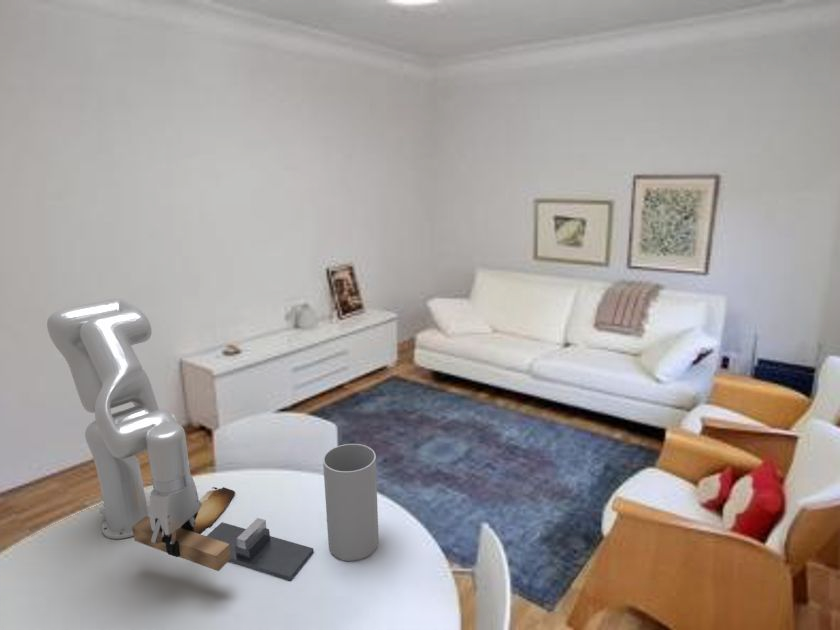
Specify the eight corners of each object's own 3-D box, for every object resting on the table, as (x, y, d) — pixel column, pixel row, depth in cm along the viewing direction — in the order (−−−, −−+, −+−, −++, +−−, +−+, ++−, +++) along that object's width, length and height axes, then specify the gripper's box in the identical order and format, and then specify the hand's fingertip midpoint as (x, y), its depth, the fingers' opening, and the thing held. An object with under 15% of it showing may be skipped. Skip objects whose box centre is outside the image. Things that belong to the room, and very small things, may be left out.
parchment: (213, 486, 161) (212, 484, 160) (243, 490, 159) (242, 487, 158) (158, 545, 138) (157, 542, 137) (192, 549, 136) (192, 547, 135)
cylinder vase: (347, 570, 128) (342, 478, 121) (319, 543, 137) (313, 456, 130) (388, 545, 136) (386, 458, 129) (359, 521, 145) (356, 438, 138)
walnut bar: (134, 540, 125) (132, 526, 124) (148, 529, 129) (146, 515, 128) (218, 571, 117) (216, 556, 116) (230, 558, 121) (229, 544, 120)
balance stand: (194, 550, 135) (191, 528, 133) (222, 525, 144) (219, 504, 142) (290, 581, 125) (288, 557, 123) (313, 552, 134) (311, 529, 132)
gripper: (186, 455, 126) (195, 520, 132) (126, 497, 111) (138, 568, 117) (212, 462, 123) (220, 528, 129) (154, 506, 108) (165, 579, 114)
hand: (181, 547), depth 123 cm, fingers closed on walnut bar, 4 cm apart
